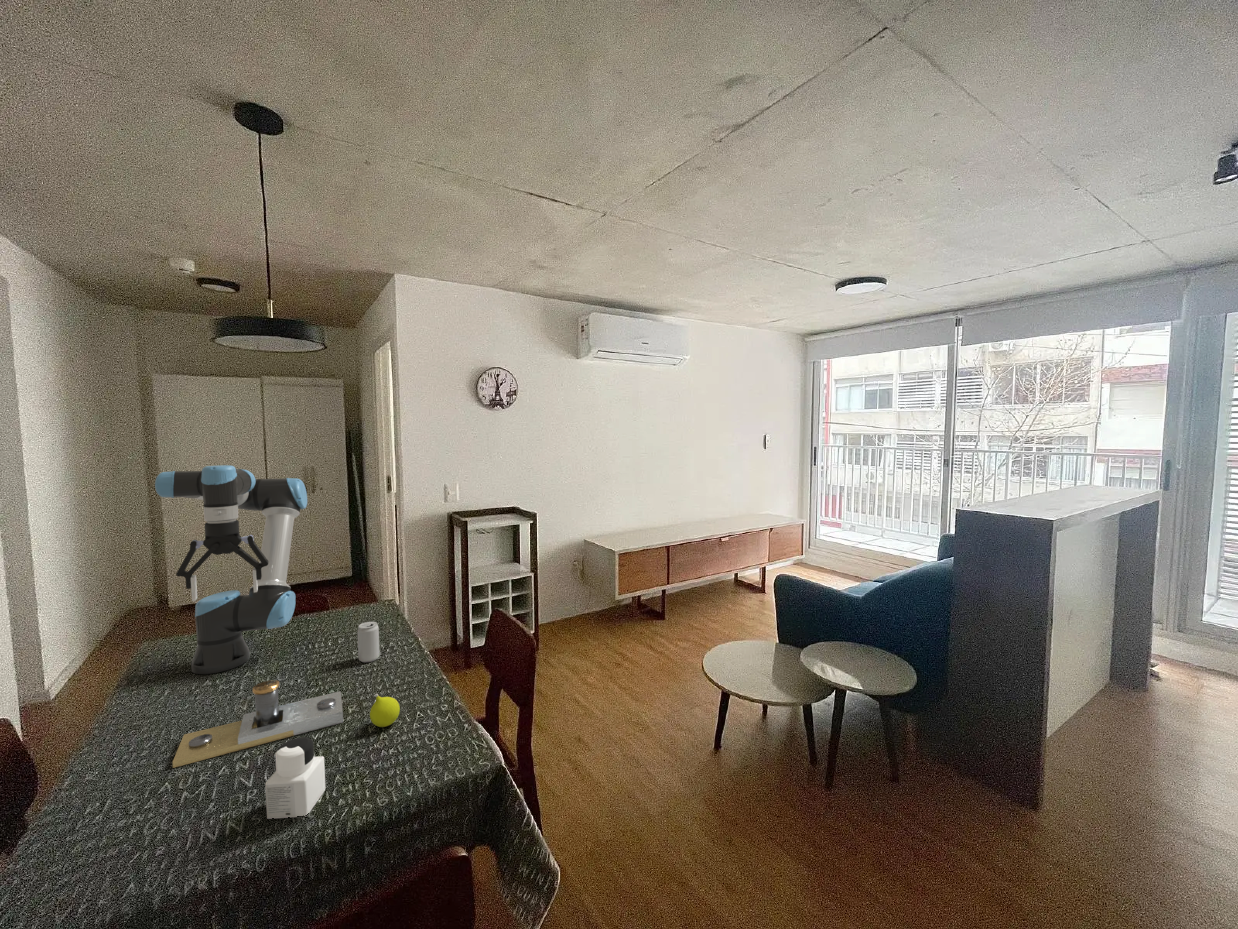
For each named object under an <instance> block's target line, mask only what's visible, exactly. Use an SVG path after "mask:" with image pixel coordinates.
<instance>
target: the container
mask: <svg viewBox="0 0 1238 929" xmlns="http://www.w3.org/2000/svg"><path fill="white" fill-rule="evenodd" d="M314 753H315V750H314V740H313V739H311V738H309V737H307V736H306V737H296V738H293V739H290V740H288V741H286V742H283V743H282V744H281V745H280V746H279V747H278V748H277V749H276V751H275V754H274V755H275V771H274V772H273V773H272V775H271V776H270V777H269V778H268V779H267V780H266V782H265V801H266V802H265V804H266V818H267V819H268V820H271V819H272V818H274V819H284V818H285V819H287V818H288V817H290V818H298V817H297V816H303V815H304V816H305V815H307V814H308V813H309V814H310V812H311V811H312V809H313V808H314V807H315V806H316V804H317V802H319V799H320V798H321V797H322V795H323V794H324V792H325V791H326V771H325V770H326V769H325V757H324V756H323V755H321V756H315V754H314ZM309 814H308V815H309ZM308 815H307V816H308ZM305 817H306V816H305Z"/></svg>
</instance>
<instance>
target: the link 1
mask: <svg viewBox="0 0 1238 929" xmlns="http://www.w3.org/2000/svg"><path fill="white" fill-rule="evenodd" d="M282 720H283V715H282V716H279V722H282ZM241 723H242V720H238V721H234V722H233V721H232V722H230V723H226V724H225V723H224V724H223V725H222V724H221V725H217V726H213V727H210V728H205V729H201V730H198V731H194V732H189V733H185V734H183V736H182V738H181V741H180V743H179V745H178V747H177V749H176V752H175V756H174V758H173V759H172V768H178V767H179V768H180V767H182V766H185V765H190V764H194V763H197V762H198V763H199V762H200V761H204V760H208V759H212V758H215V757H219V756H223V755H226V754H230V753H234V752H238V751H241V750H246V749H249V748H253V747H257V746H261V745H263V744H268V743H272V742H275V741H279V740H282V739H287V738H291V737H294V736H295V735H294V731H293V730H291V731H288V732H284V733H280V734H276V735H272V736H269V737H265V738H261V739H257V740H253V741H250V742H246V743H242V744H238V736H239V731H240V727H241ZM255 728H257V725H256V722H254V726H253V729H255Z"/></svg>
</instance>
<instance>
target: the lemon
mask: <svg viewBox="0 0 1238 929" xmlns="http://www.w3.org/2000/svg"><path fill="white" fill-rule="evenodd" d="M374 696H375V702H374V703H373V705H372V706H371V708H370V711H369V718H370V721H371V723H372V724H373V725H374V726H377V727H379V728H385V727H388V726H390V725H392V724H393V723H394V722H395V721H396V720H397V719H398V717H399V715H400V710H401V709H400V708H401V707H400V703H399V702H398V701H397V699H396V698H394V697H391V696H383V697H382V696H379V694H378V693H375V694H374Z"/></svg>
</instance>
